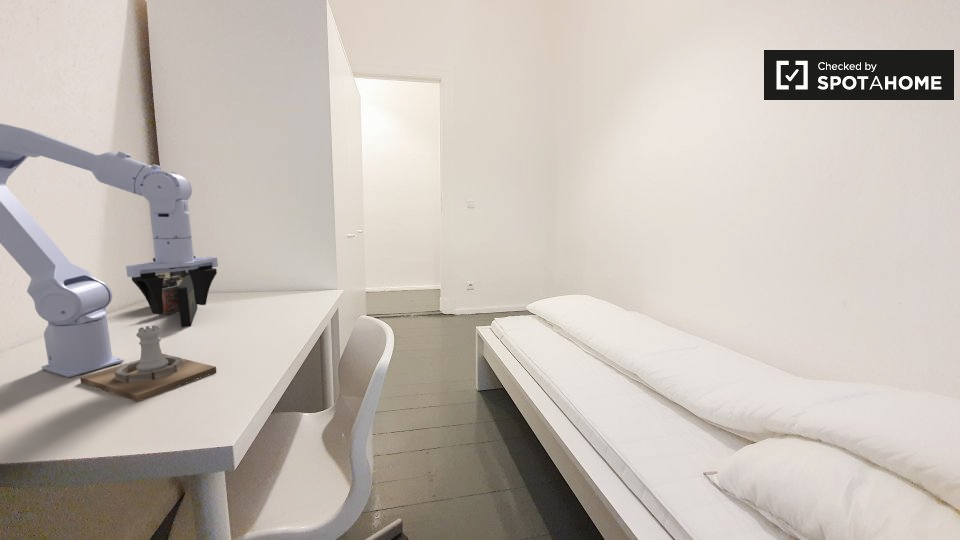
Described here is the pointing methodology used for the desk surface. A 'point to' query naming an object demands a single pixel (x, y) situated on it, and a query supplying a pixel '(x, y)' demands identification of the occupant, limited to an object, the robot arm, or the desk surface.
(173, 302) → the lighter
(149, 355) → the rook chess piece
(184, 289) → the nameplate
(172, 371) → the socket board
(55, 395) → the desk surface
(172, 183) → the robot arm
